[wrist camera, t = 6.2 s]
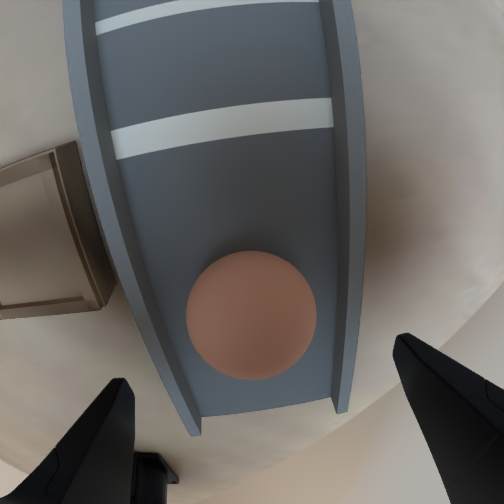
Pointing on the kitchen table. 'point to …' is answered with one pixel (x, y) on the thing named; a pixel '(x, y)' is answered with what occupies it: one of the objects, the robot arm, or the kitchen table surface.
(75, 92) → the lane
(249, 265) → the ball
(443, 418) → the robot arm
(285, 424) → the kitchen table surface
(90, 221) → the square wooden tray
